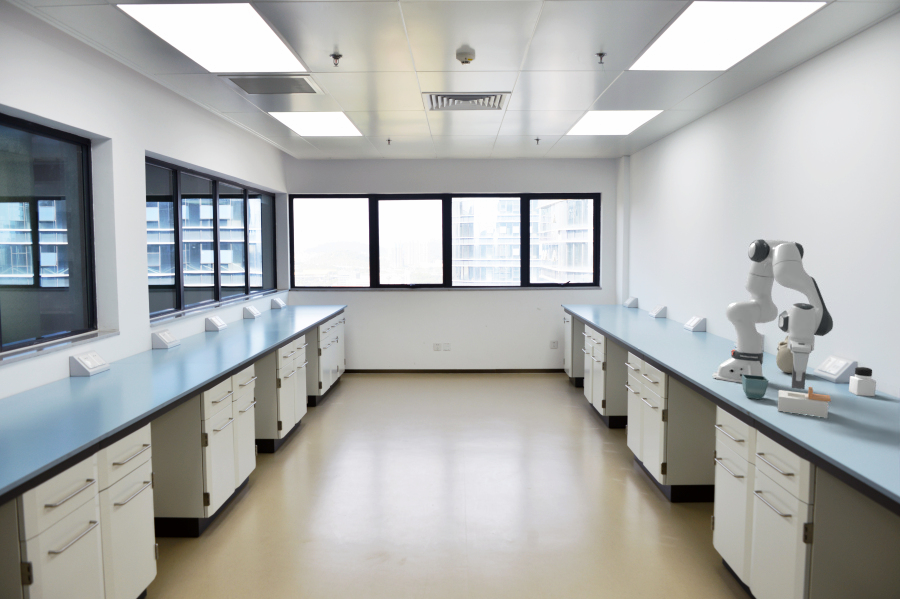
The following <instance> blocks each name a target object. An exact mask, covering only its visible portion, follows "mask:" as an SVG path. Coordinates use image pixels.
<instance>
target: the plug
mask: <svg viewBox="0 0 900 599" xmlns="http://www.w3.org/2000/svg"><path fill="white" fill-rule="evenodd" d="M806 372H807V370H806V371H805V372H803V373H802V379H801V381H796V371H795V370H794V364H793V372H792V373H791V388H792V389H797V390H798V389H799V390H805V387H806Z"/></svg>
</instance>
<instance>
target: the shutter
mask: <svg viewBox="0 0 900 599" xmlns="http://www.w3.org/2000/svg"><path fill="white" fill-rule="evenodd" d="M807 390H808V392H807V394H808V397H809V399H814V400H822V401H828V403H829V402H832V400H831V396H830V394H829V395H827V394H820V393H814V389H813V387H812V386H808V389H807Z"/></svg>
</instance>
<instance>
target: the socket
mask: <svg viewBox="0 0 900 599" xmlns="http://www.w3.org/2000/svg"><path fill="white" fill-rule="evenodd" d="M777 399H778V400H777V412H778V411H784V412H783V413H785V412H792V413H800V414H807V415H814V416H820V417H825V418H824V419H828V413H829V412H828V409H829V401H822V400H814V399H809V397H808V392H807V393H805V392H797V391H790V390H784V389H783V390H782V389H779V390H778V397H777ZM792 413H791V414H792ZM820 417H819V418H820Z"/></svg>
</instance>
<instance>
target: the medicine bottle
mask: <svg viewBox="0 0 900 599" xmlns="http://www.w3.org/2000/svg"><path fill="white" fill-rule="evenodd" d="M872 377H873V370H872V368H870V367H865V366H857V367H855V368H854V376H853V375H852V376H851V375H850V376H849V385H848V392H849V393H852V394H853V395H856V396H860V397H861V396H862V397H865V396H867V397H875V396H876V386H877V380H875V379H873V378H872Z"/></svg>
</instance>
